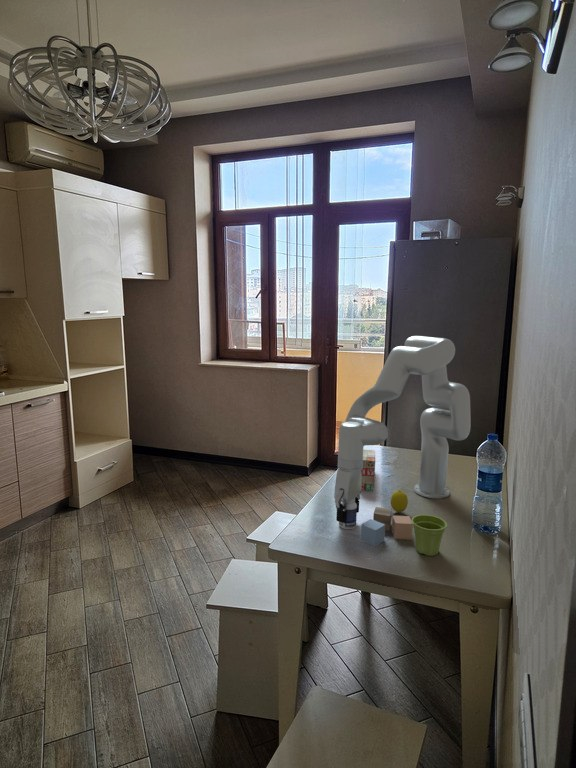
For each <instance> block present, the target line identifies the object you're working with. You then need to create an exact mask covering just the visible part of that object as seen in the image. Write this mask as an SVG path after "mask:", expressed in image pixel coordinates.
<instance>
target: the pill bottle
mask: <svg viewBox="0 0 576 768" xmlns="http://www.w3.org/2000/svg"><path fill="white" fill-rule="evenodd" d="M342 499H343V500H346V499H345V498H342ZM341 504H342V505H343V506H344V502H341ZM346 510H347V522H346V523H342V522H339V521H338V525H339V527H340V528H342V529H344V530H352V529H353V530H354V529H355V528H356V527H357V514H358V513H357V504H356V503H355V498H354V499H353V500H351V501H350V502H348V504H347V508H346Z"/></svg>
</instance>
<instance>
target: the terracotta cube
mask: <svg viewBox="0 0 576 768" xmlns="http://www.w3.org/2000/svg"><path fill="white" fill-rule="evenodd" d="M413 528H414V526H413V523H412V518H411V517H410V516H409V515H392V517H391V532H392V535H393V539H395V540H413V538H412V537H413Z"/></svg>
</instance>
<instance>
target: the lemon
mask: <svg viewBox="0 0 576 768" xmlns="http://www.w3.org/2000/svg"><path fill="white" fill-rule="evenodd" d="M408 503H409V499H408V496H407V494H406V493H405V492H404V491H402V490H401V489H398V490H396V491H394V492H393V493H392V494H391V497H390V507H391V509H392V510H393V511H395V512H396V513H397V514H400V513H402V512H404V511H405V510H406V509H407V507H408Z"/></svg>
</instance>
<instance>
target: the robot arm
mask: <svg viewBox="0 0 576 768" xmlns="http://www.w3.org/2000/svg"><path fill="white" fill-rule="evenodd" d="M455 354H456V347H455V344H454V342H453V341H452V340H451V339H448V338H445V337H437V336H435V337H434V336H433V337H432V336H426V335H412V336H410V337H408V338H407V339H406V340H405V341H404V345H399V346H395V347H393V348H392V350H391V351H390V352H389V354H388V356H387V358H386V361H385V362H384V364H383V367H382V370H381V371H380V373H379V376H378V377H377V380H376V382H375V384H374V385H373V386H372V387H370V388H369V389H367V390H366V391H365V392H364V393H362V394H361V395H360V396H359V397H357V398H356V400H355V401H354V402H353V403H352V405H351V407H350V409H349V411H348V413H347V414H346V418H345V420H344V422H341V424H339V427H338V449H337V450H338V452H337V455H338V456H337V472H336V476H335V481H334V482H335V483H334V495H333V498H334V503H335V504H334V505H335V510H336V518H335V519H336V522H338V523H339V522H342V523H346V522H347V510H346V508H347V504H348V502H350V501H351V500H353V499H354V498H355V503H356V504H357V514H358V513H359V512H360V499H361V496H360V495H361V492H362V491H361V486H362V484H361V481H362V476H361V469H362V467H363V450H364V447H365V446H378V445H381V444H382V443H384V442H385V441H386V440H387V438H388V435H389V429H388V427H387V426H386V424H384V423H383V422H382V421H380V420H376V419H371V418H369V417H366V416H367V414H368V413H369V411H371V410H372V408H375V407H376V406H378V405H380V404H383V403H385V402H389V401H393V400H396V399H398V398H399V397H400V396H401V394H402V393H403V389H405V388H404V387H405V386H406V383H407V381H408V379H409V377H410V375H411V374H412V375H418V376H421V384H422V385H421V387H422V388H421V389H422V397H423V401H424V403H425V404H427V405H428V406H431V407H428V408H426V409H424V410H423V411H422V413H421V414H420V419H419V420H420V421H419V423H420V424H419V425H420V432H421V446H420V447H421V448H420V458H419V459H420V462H419V475H418V476H419V477H418V483H416V484H414V485H413V486H414V487H413V491H414V492H415V493H416V495H419V496H421V497H423V498H424V497H425V498H429V499H445V498H447V497H449V496H450V490H449V488H448V487H446V486H447V473H448V464H449V463H448V462H449V461H448V460H449V450H450V449H449V443H448V440H447V439H450V440H453V441H464V440H466V439H467V438H468V436H469V435H470V432H471V427H472V426H471V421H472V420H471V395H470V392H469V389H468V388H467V387H466V385H464V384H462V383H458V382H453V381H449V379H448V372H447V371H448V369H447V365H448V364H450V363H451V361H452V360H453V359H454V357H455V356H456V355H455ZM342 498H345V499H346V500H343V499H342ZM341 502H344V506H343V505H342V504H341Z"/></svg>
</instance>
